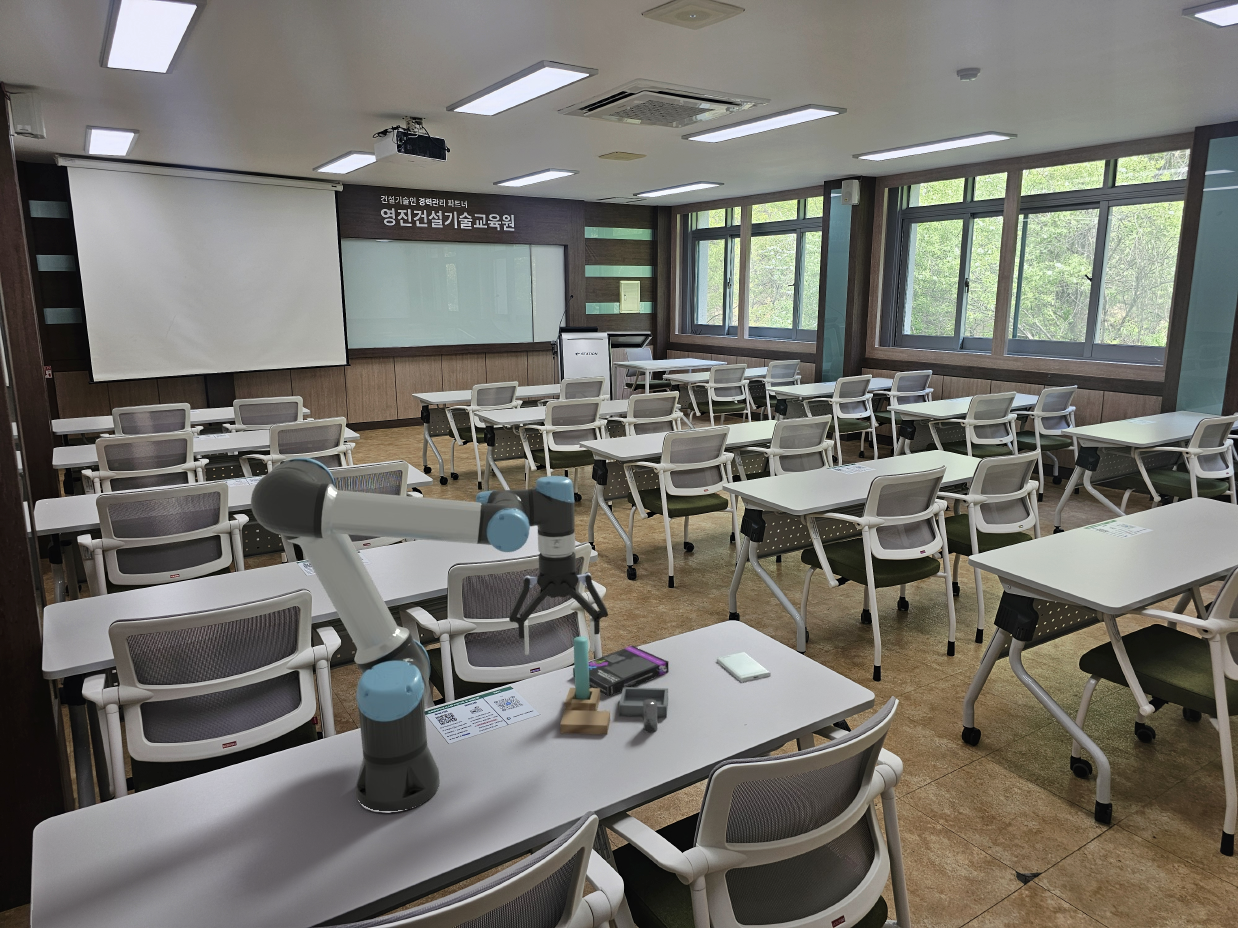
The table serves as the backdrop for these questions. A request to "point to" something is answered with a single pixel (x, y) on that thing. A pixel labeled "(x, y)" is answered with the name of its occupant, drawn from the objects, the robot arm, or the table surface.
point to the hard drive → (743, 667)
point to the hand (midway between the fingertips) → (559, 650)
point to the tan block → (585, 722)
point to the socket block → (583, 701)
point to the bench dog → (650, 715)
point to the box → (624, 670)
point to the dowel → (581, 668)
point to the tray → (634, 701)
